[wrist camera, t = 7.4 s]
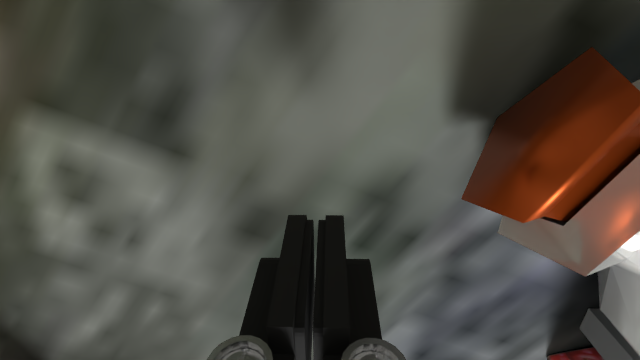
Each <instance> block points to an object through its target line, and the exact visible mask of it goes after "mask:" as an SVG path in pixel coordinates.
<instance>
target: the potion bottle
mask: <svg viewBox="0 0 640 360" xmlns="http://www.w3.org/2000/svg"><path fill="white" fill-rule="evenodd" d="M461 199H463V200H465V201H468V202H470V203H473V204H475V205H478V206H481V207H483V208H486V209H488V210H491V211H493V212H496V213H498V214H501V215H503V216H502V220H501V223H500V227H499V231H498V233H499V234H501V235H503V236H505V237H507V238H509V239H511V240H513V241H515V242H517V243H519V244H521V245H523V246H525V247H527V248H529V249H531V250H533V251H535V252H537V253H539V254H541V255H543V256H545V257H547V258H549V259H551V260H553V261H555V262H557V263H559V264H561V265H563V266H565V267H567V268H569V269H571V270H573V271H575V272H577V273H579V274H581V275H583V276H588V275H590V274H593V273H595V272H598V286H599V302H600V310H601V311H602V313H603V314H604V315H605V316H606V318H607V319H608V320H609V321H610V323H611V324H612V325H613V326H614V327H615V329H616V330H617V331H618V332H619V334H620V335H621V336H622V337H623V339H624V340H625V341H626V342H627V344H628V345H629V346H630V347H631V348H632V350H633V351H634V352H635V353H636V355H637V356H638V357H639V358H640V80H638V81H636V82H634V83H631V82H630V81H629V80H627V79H626V78H625V77H624V76H623V75H622V74H621V73H620V72H619V71H618V70H617V69H615V68H614V67H613V66H612V65H611V64H610V63H609V62H608V61H607V60H606V59H605V58H604V57H602V56H601V55H600V54H599V53H598V52H597V51H596V50H595V49H594V48H593V47H591V48H590V49H588V50H587V51H586V52H584V53H583V54H582V55H580V56H579V57H578V58H576V59H575V60H574V61H572V62H571V63H570V64H568V65H567V66H566V67H564V68H563V69H562V70H560V71H559V72H558V73H556V74H555V75H554V76H552V77H551V78H550V79H548V80H547V81H546V82H544V83H543V84H542V85H540V86H539V87H538V88H536V89H535V90H534V91H532V92H531V93H530V94H528V95H527V96H526V97H524V98H523V99H522V100H520V101H519V102H518V103H516V104H515V105H513V106H512V107H511V108H509V109H508V110H507V111H505V112H504V113H503V114H501V115H500V116H499V117H498V118H497V119H496V122H495V124H494V126H493V128H492V131H491V133H490V135H489V137H488V140H487V142H486V144H485V147H484V149H483V151H482V153H481V156H480V158H479V160H478V162H477V165H476V167H475V169H474V171H473V174H472V176H471V178H470V180H469V183H468V185H467V187H466V189H465V192H464V194H463V196H462V198H461Z"/></svg>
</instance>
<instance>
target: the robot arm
mask: <svg viewBox="0 0 640 360" xmlns="http://www.w3.org/2000/svg"><path fill="white" fill-rule="evenodd" d="M314 294H315V297H314ZM313 313H314V315H313ZM312 331H313V352H314V360H406V359H405V357H404V355H403V354H402V353H401V352H400V351H399V350H398V349H397V348H396V347H395V346H394V345H392V344H390V343H389V342H387V341H384V340H382V336H381V330H380V323H379V317H378V310H377V303H376V297H375V290H374V284H373V277H372V271H371V264H370V260H369V259H346V250H345V233H344V217H343V216H337V215H326V220H319V224H318V242H317V260H316V279H315V277H314V227H313V220H307V216H306V215H288V220H287V225H286V230H285V235H284V240H283V245H282V250H281V255H280V258H261V259H260V262H259V265H258V269H257V273H256V276H255V280H254V284H253V287H252V291H251V295H250V298H249V302H248V305H247V309H246V313H245V316H244V320H243V324H242V327H241V331H240V335H239V336H236V337H233V338H230V339H228V340H226V341H224V342H222V343H221V344H220V345H219V346H217V347H216V348H215V349H214V350H213V351H212V353H211V354H210V355H209V357H208V358H207V360H311V349H312Z"/></svg>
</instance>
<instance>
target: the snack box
mask: <svg viewBox="0 0 640 360" xmlns="http://www.w3.org/2000/svg"><path fill="white" fill-rule="evenodd" d="M547 360H604V359H603V358H602V356H601V355H600V354H599V353H598V351H597V350H596V349H595V347H591V348H586V349H580V350H574V351H568V352H563V353H557V354H553V355H549V356H548V357H547Z"/></svg>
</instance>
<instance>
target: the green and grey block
mask: <svg viewBox="0 0 640 360" xmlns="http://www.w3.org/2000/svg"><path fill="white" fill-rule="evenodd" d="M579 329H580V330H581V331H582V332H583V334H584V335H585V336H586V337H587V339H588V340H589V341H590V342H591V344H592V345H593V346H594V347H595V349H596V350H597V351H598V353H599V354H600V355H601V356H602V358H603V359H604V360H640V358H639V357H638V356H637V355H636V353H635V352H634V351H633V350H632V348H631V347H630V346H629V345H628V344H627V342H626V341H625V340H624V339H623V337H622V336H621V335H620V334H619V332H618V331H617V330H616V329H615V327H614V326H613V325H612V324H611V323H610V321H609V320H608V319H607V318H606V316H605V315H604V314H603V313H602V311H601V310H600V309H592V308H588V311H587V313H586V315H585V317H584V319H583V321H582V324H581V326H580V328H579Z"/></svg>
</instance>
